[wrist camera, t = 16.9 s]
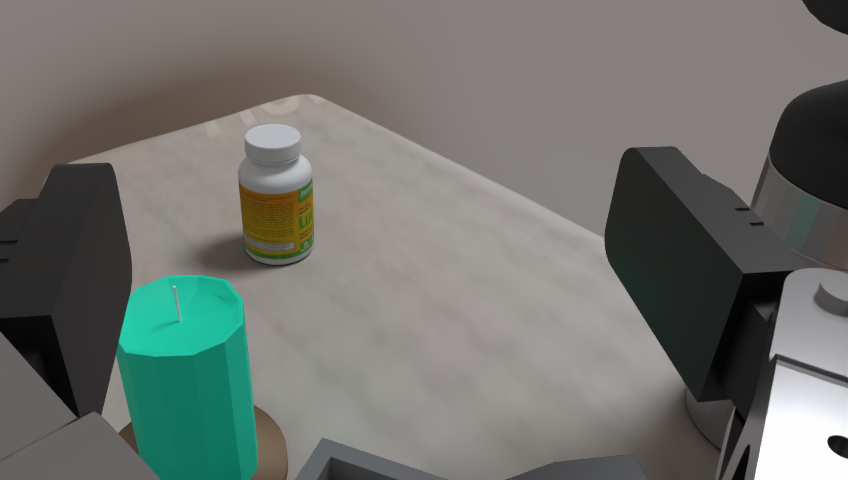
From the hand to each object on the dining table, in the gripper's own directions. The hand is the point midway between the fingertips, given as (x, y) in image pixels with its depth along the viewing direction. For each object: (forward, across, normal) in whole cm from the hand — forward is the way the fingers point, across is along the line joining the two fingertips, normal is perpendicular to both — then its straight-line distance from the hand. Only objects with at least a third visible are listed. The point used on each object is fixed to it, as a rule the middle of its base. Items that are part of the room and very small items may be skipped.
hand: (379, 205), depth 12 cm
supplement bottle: (+40, +2, +28) cm, 49 cm away
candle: (+18, +7, +27) cm, 34 cm away
